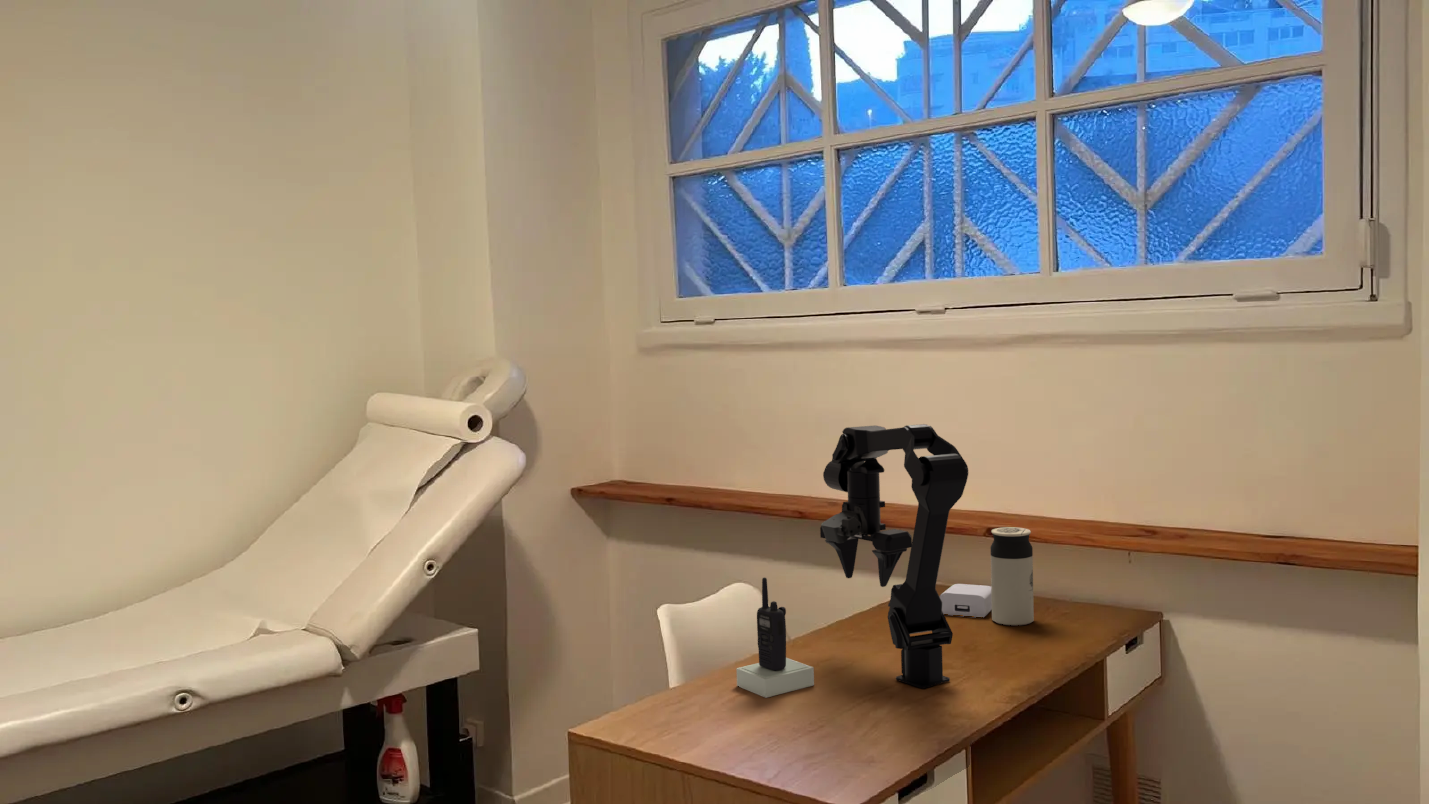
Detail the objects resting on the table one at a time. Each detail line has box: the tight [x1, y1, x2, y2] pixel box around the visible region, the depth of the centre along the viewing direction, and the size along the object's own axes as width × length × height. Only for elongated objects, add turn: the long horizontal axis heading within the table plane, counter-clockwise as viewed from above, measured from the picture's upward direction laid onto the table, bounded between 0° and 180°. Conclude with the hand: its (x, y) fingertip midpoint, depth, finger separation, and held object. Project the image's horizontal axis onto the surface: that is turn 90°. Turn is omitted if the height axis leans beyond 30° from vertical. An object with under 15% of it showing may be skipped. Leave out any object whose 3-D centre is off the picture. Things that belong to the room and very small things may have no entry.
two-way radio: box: [756, 577, 787, 671], centre depth 192 cm, size 6×4×15 cm
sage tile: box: [735, 657, 815, 698], centre depth 193 cm, size 8×10×3 cm
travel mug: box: [989, 526, 1035, 627], centre depth 227 cm, size 8×8×18 cm
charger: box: [939, 583, 992, 618], centre depth 239 cm, size 5×9×15 cm
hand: (865, 582), depth 208 cm, fingers open, 9 cm apart
